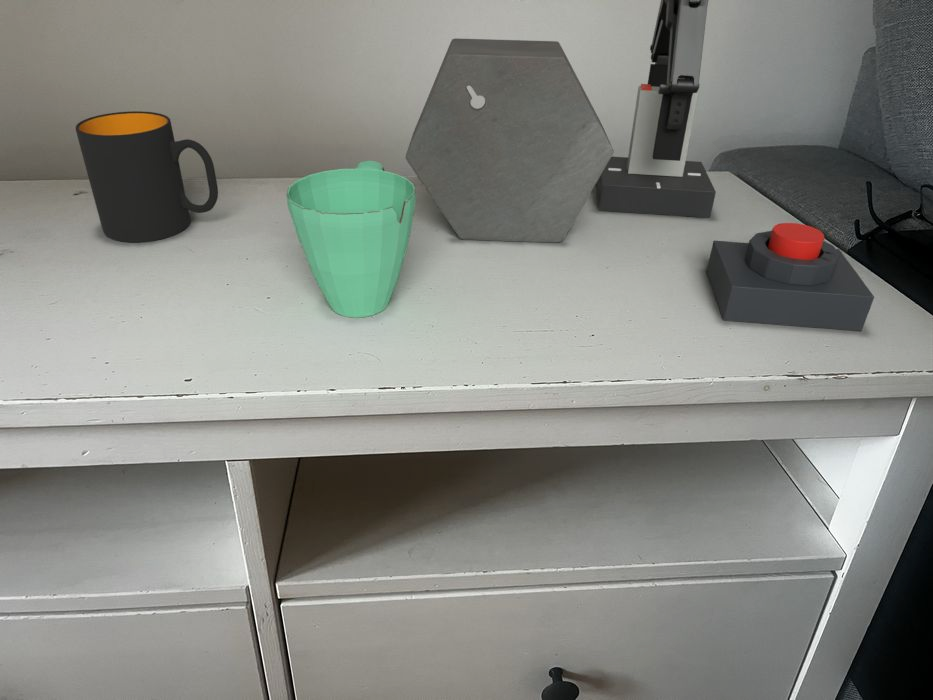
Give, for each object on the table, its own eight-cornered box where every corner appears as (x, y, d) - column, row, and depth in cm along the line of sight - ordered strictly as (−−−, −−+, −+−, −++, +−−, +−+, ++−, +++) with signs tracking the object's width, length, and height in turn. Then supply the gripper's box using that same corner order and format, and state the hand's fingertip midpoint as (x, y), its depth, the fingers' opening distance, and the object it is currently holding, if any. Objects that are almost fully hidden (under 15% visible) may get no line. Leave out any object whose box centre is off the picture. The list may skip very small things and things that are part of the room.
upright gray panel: (680, 170, 82) (695, 86, 77) (682, 177, 80) (698, 91, 75) (626, 167, 82) (638, 83, 77) (627, 173, 81) (640, 88, 76)
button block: (828, 280, 66) (845, 230, 63) (861, 331, 59) (882, 276, 56) (706, 272, 67) (717, 221, 64) (723, 320, 60) (737, 266, 57)
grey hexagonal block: (627, 172, 76) (530, -14, 66) (639, 199, 69) (533, -3, 60) (488, 249, 81) (381, 87, 72) (488, 281, 74) (370, 107, 65)
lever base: (696, 185, 87) (701, 160, 85) (710, 218, 78) (716, 190, 76) (596, 179, 88) (599, 154, 86) (598, 211, 79) (602, 183, 77)
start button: (810, 243, 62) (816, 224, 61) (824, 263, 58) (831, 243, 58) (763, 240, 62) (768, 221, 61) (773, 260, 59) (779, 240, 58)
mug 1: (210, 245, 70) (190, 138, 64) (87, 241, 70) (57, 134, 64) (236, 212, 76) (221, 113, 71) (125, 208, 77) (100, 109, 71)
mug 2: (411, 335, 56) (408, 216, 51) (287, 331, 57) (271, 211, 51) (427, 255, 69) (426, 151, 63) (324, 251, 69) (315, 148, 64)
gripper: (645, -92, 78) (618, 109, 90) (672, -84, 58) (632, 175, 69) (716, -90, 78) (679, 112, 89) (769, -81, 57) (712, 180, 69)
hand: (659, 140), depth 79 cm, fingers open, 12 cm apart
